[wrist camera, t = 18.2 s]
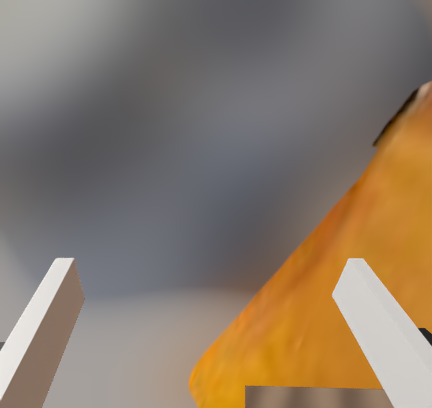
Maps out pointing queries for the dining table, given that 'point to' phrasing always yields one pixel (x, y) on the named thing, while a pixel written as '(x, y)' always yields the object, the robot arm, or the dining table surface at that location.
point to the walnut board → (314, 397)
